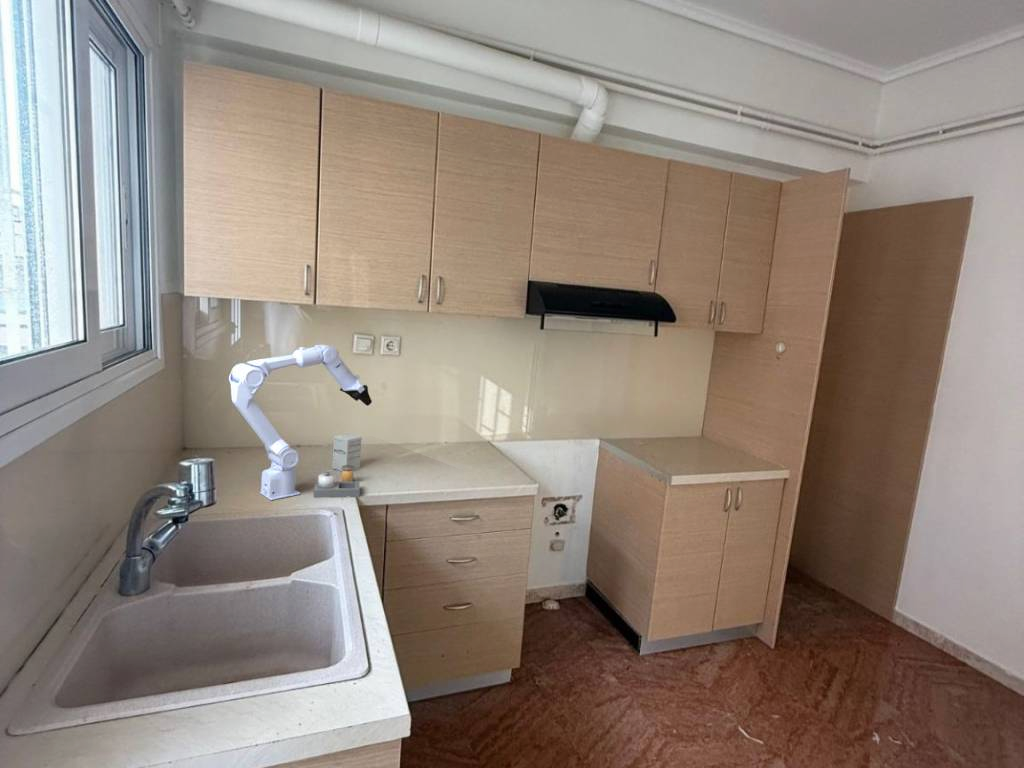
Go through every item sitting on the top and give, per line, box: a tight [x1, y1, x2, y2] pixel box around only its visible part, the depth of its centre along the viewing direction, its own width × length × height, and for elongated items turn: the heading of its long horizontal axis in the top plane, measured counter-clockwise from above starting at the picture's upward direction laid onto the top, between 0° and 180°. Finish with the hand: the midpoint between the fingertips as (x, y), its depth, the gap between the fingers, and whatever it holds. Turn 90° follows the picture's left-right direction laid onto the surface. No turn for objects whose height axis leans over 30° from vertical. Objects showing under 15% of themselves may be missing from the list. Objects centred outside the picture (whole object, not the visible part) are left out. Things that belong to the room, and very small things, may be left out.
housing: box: [313, 471, 360, 498], centre depth 170 cm, size 14×8×7 cm, turn 107°
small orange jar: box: [341, 465, 354, 482], centre depth 180 cm, size 4×4×6 cm
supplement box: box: [331, 433, 362, 472], centre depth 196 cm, size 7×7×13 cm
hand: (364, 401), depth 183 cm, fingers open, 7 cm apart
